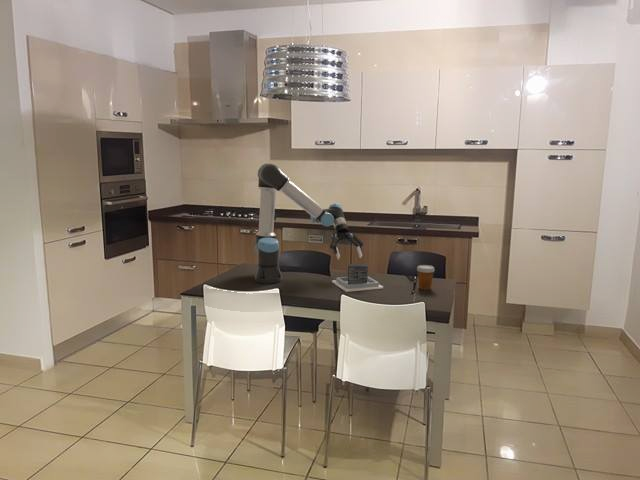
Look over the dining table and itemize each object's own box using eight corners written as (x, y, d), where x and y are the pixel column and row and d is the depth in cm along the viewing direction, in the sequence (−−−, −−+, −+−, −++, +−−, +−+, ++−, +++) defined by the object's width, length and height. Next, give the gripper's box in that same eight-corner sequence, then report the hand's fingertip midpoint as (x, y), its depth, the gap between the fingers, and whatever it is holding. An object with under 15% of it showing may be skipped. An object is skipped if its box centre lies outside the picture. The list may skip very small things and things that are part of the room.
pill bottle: (423, 291, 271) (424, 269, 268) (412, 287, 279) (413, 265, 277) (437, 289, 275) (438, 267, 273) (425, 285, 283) (427, 264, 281)
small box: (366, 282, 283) (367, 264, 281) (367, 285, 277) (368, 266, 275) (347, 281, 283) (348, 263, 281) (348, 285, 277) (348, 266, 275)
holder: (345, 291, 268) (345, 286, 267) (331, 282, 286) (332, 277, 285) (383, 288, 275) (383, 283, 274) (367, 279, 293) (367, 274, 293)
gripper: (358, 229, 306) (368, 259, 295) (319, 231, 298) (327, 262, 286) (362, 222, 300) (372, 252, 289) (322, 223, 292) (331, 254, 281)
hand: (350, 257), depth 288 cm, fingers open, 13 cm apart
